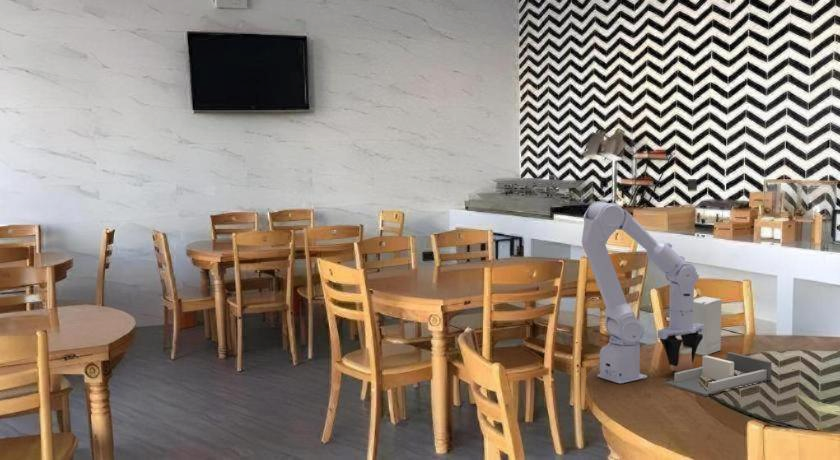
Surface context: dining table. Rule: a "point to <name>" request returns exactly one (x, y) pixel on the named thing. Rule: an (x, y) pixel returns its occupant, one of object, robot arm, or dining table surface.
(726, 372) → the follower
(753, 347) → the dining table surface
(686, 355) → the jar
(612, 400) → the dining table surface
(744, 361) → the lane
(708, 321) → the skincare box
